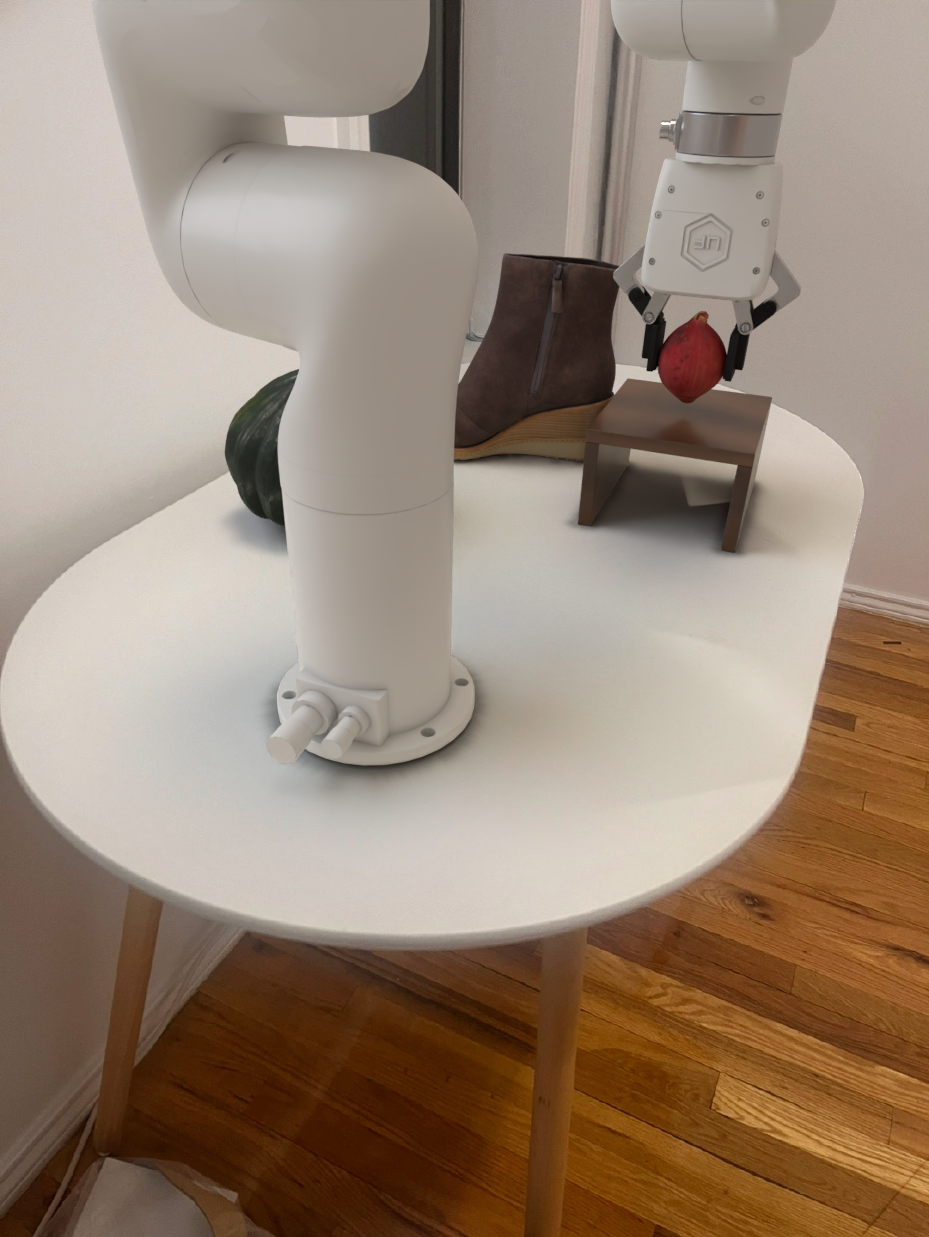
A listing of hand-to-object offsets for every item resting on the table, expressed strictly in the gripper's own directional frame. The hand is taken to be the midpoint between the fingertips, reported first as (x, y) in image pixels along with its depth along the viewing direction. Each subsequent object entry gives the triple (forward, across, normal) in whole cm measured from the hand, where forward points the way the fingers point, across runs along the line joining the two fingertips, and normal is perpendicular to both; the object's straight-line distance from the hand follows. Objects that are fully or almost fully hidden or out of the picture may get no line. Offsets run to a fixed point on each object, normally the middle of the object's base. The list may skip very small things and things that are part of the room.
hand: (690, 370), depth 78 cm
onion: (+3, 0, 0) cm, 3 cm away
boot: (+13, -20, +6) cm, 25 cm away
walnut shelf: (+13, 0, 0) cm, 13 cm away
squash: (+13, -29, -16) cm, 36 cm away
